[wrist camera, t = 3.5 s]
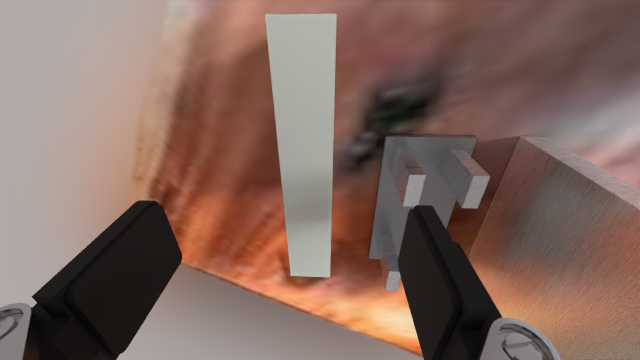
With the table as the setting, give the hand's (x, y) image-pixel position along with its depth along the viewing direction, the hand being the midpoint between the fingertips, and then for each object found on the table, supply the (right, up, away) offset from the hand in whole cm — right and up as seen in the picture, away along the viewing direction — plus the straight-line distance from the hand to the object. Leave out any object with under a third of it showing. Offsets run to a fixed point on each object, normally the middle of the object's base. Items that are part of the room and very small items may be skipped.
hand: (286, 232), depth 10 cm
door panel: (+1, +8, +13) cm, 15 cm away
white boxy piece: (+14, -1, +17) cm, 23 cm away
